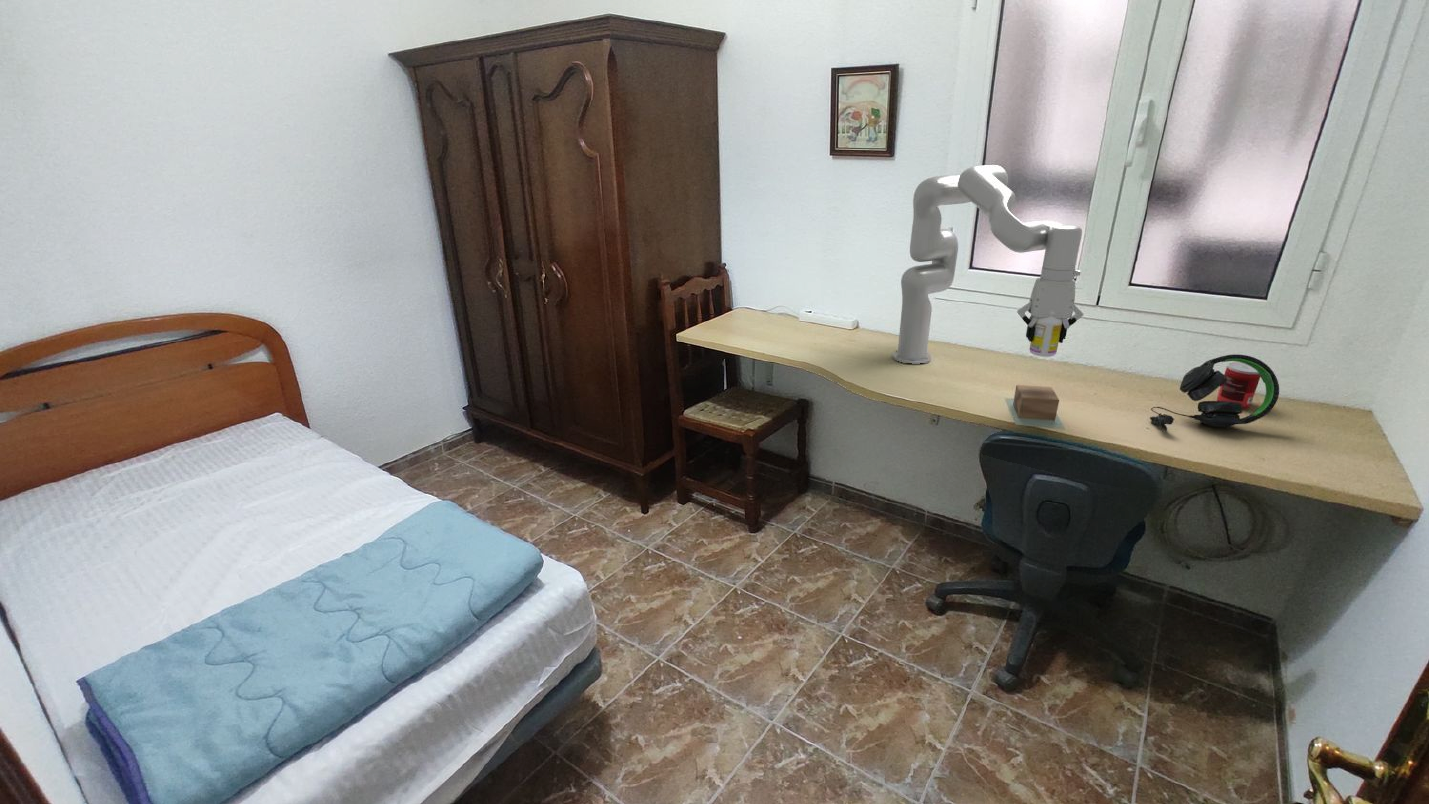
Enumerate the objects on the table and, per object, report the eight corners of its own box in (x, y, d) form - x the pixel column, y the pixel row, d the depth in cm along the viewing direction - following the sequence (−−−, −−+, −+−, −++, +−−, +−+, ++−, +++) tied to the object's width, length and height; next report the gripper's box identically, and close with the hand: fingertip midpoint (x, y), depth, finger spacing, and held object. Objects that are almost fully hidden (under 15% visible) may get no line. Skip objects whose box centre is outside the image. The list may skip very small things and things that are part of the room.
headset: (1161, 451, 173) (1281, 407, 165) (1178, 453, 160) (1310, 405, 152) (1129, 391, 176) (1245, 345, 168) (1143, 388, 163) (1270, 338, 155)
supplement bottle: (1055, 350, 175) (1064, 305, 170) (1056, 358, 169) (1066, 311, 164) (1028, 348, 177) (1036, 302, 172) (1028, 355, 172) (1037, 309, 167)
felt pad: (1004, 399, 186) (1004, 397, 185) (1049, 402, 183) (1049, 401, 183) (1015, 426, 170) (1015, 424, 170) (1064, 430, 167) (1065, 428, 167)
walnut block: (1012, 404, 181) (1016, 384, 179) (1047, 407, 179) (1051, 387, 177) (1018, 417, 173) (1022, 397, 171) (1054, 420, 171) (1059, 400, 169)
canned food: (1243, 399, 182) (1255, 363, 177) (1254, 410, 175) (1268, 373, 171) (1211, 396, 184) (1223, 360, 180) (1221, 407, 177) (1233, 370, 173)
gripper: (1089, 272, 166) (1076, 338, 173) (1018, 270, 170) (1007, 335, 177) (1098, 278, 160) (1084, 346, 167) (1023, 277, 163) (1012, 343, 170)
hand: (1044, 340), depth 172 cm, fingers closed on supplement bottle, 6 cm apart
